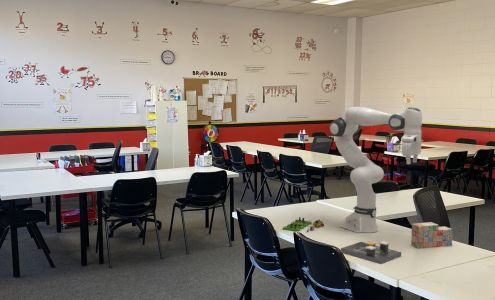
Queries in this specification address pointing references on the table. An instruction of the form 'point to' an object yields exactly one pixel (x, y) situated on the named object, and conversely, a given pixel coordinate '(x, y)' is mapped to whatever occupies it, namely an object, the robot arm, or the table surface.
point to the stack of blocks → (430, 235)
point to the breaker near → (370, 250)
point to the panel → (378, 257)
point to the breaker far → (383, 245)
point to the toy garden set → (302, 225)
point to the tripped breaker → (371, 244)
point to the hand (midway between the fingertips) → (411, 163)
